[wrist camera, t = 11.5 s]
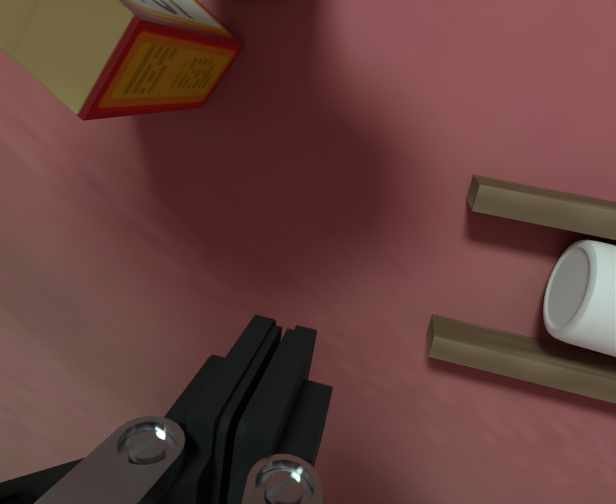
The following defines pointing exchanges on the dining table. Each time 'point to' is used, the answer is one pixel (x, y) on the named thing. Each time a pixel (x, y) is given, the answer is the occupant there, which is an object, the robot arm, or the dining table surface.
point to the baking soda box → (119, 52)
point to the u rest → (515, 348)
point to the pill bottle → (583, 297)
